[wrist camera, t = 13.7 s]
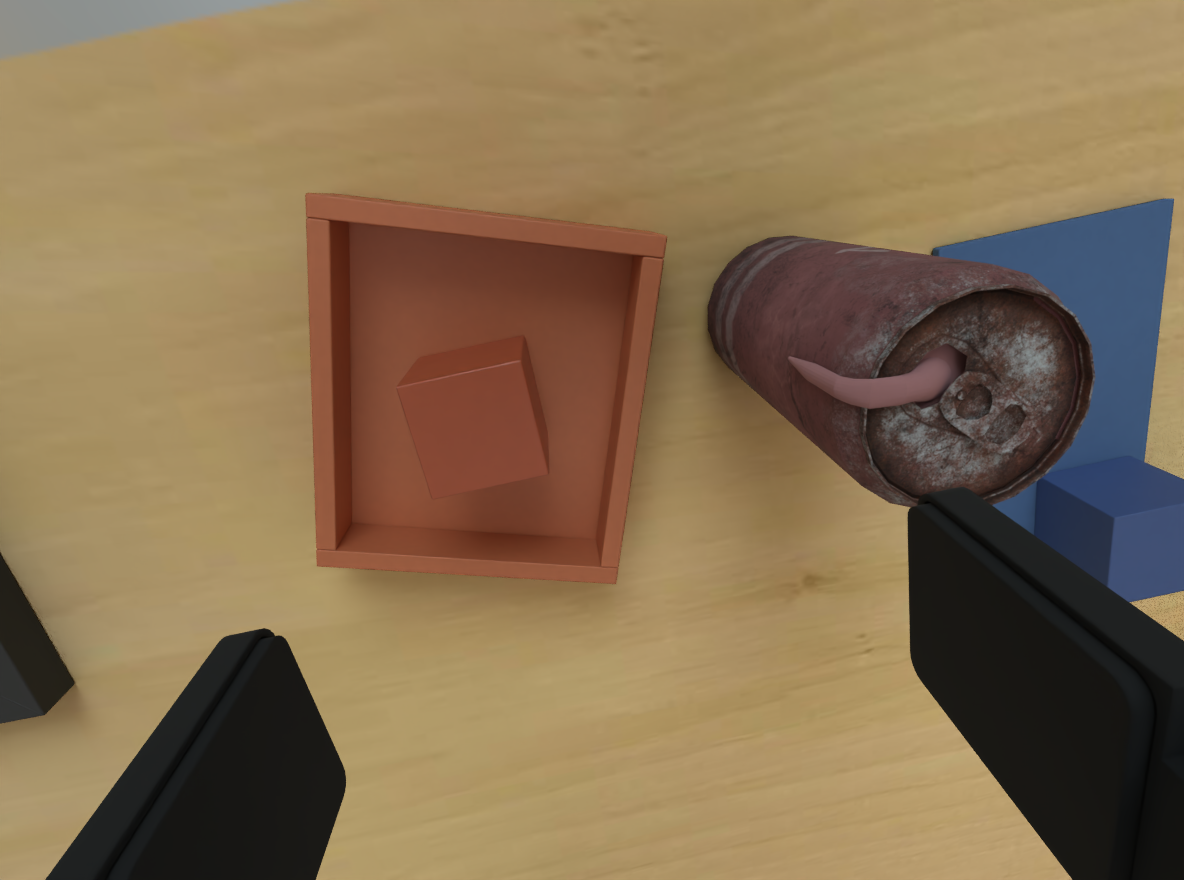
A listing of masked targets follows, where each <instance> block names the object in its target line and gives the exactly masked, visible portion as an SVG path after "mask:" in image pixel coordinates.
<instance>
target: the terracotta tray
mask: <svg viewBox="0 0 1184 880" xmlns="http://www.w3.org/2000/svg"><path fill="white" fill-rule="evenodd" d="M305 197H306V216H307V217H308V218H307V219H306V229H307V261H308V293H309V325H310V357H311V389H312V421H313V453H314V485H315V517H316V548H317V550H316V555H317V566H321V567H338V568H355V569H372V570H389V571H406V572H423V573H440V574H457V575H474V576H491V577H508V578H524V579H541V580H558V581H575V582H592V583H609V584H616V581H617V574H618V566H619V560H620V553H621V547H622V540H623V533H624V526H625V519H626V513H627V506H628V499H629V492H630V486H631V479H632V472H633V465H634V459H635V452H636V445H637V438H638V431H639V425H640V418H641V411H642V404H643V398H644V391H645V384H646V377H647V371H648V364H649V357H650V350H651V343H652V337H653V330H654V323H655V316H656V310H657V303H658V296H659V289H660V283H661V276H662V269H663V262H664V260H663V259H662V258H664V256H665V249H666V242H667V236H665V235H662V234H658V233H655V232H650V231H642V230H633V229H625V228H617V227H608V226H600V225H592V224H583V223H575V222H566V221H558V220H550V219H541V218H533V217H525V216H516V215H508V214H500V213H491V212H483V211H474V210H466V209H458V208H449V207H441V206H433V205H424V204H416V203H407V202H399V201H391V200H382V199H374V198H366V197H357V196H349V195H341V194H328V193H306V195H305ZM521 335H524V336H525V340H526V344H527V348H528V352H529V356H530V360H531V365H532V369H533V373H534V377H535V381H536V385H537V390H538V394H539V398H540V402H541V406H542V410H543V414H544V419H545V423H546V427H547V431H548V447H549V475H546V476H541V477H536V478H532V479H527V480H523V481H518V482H513V483H509V484H504V485H499V486H495V487H490V488H485V489H481V490H476V491H471V492H467V493H462V494H458V495H453V496H448V497H444V498H439V499H434V500H432V498H431V496H430V493H429V489H428V486H427V483H426V480H425V477H424V474H423V471H422V468H421V465H420V462H419V458H418V455H417V452H416V449H415V446H414V443H413V440H412V437H411V434H410V430H409V427H408V424H407V421H406V418H405V415H404V412H403V409H402V406H401V403H400V399H399V396H398V393H397V390H396V386H397V385H398V384H399V382H400V381H401V380H402V378H403V377H404V376H405V375H406V373H407V372H408V371H409V369H410V368H411V367H412V365H413V364H414V363H415V362H416V360H417V359H418V358H419V357H423V356H428V355H433V354H437V353H442V352H447V351H451V350H456V349H461V348H465V347H470V346H474V345H479V344H484V343H488V342H493V341H498V340H502V339H507V338H512V337H516V336H521Z"/></svg>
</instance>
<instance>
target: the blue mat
mask: <svg viewBox="0 0 1184 880" xmlns="http://www.w3.org/2000/svg"><path fill="white" fill-rule="evenodd" d="M1173 204H1174V199H1160V200H1156V201H1151V202H1147V203H1142V204H1137V205H1133V206H1128V207H1123V208H1119V209H1114V210H1109V211H1105V212H1100V213H1095V214H1091V215H1086V216H1082V217H1077V218H1072V219H1068V220H1063V221H1058V222H1054V223H1049V224H1044V225H1040V226H1035V227H1030V228H1026V229H1021V230H1016V231H1012V232H1007V233H1003V234H998V235H993V236H989V237H984V238H979V239H975V240H970V241H965V242H961V243H956V244H951V245H947V246H942V247H938V248H934V249H933V256H938V257H945V258H952V259H959V260H967V261H974V262H981V263H988V264H994V265H997V266H1001V267H1005V268H1009V269H1012V270H1016V271H1020V272H1023V273H1027V274H1030V275H1031V276H1033V277H1034V278H1035V279H1037V280H1038V281H1039V282H1040V283H1042V284H1043V285H1044V286H1046V287H1047V288H1048V289H1049V290H1051V291H1052V292H1053V293H1055V294H1056V295H1057V296H1058V297H1059V298H1060V300H1061V302H1062V303H1063V305H1064V306H1065V307H1067V308H1068V309H1069V310H1070V311H1072V312H1073V313H1074V314H1076V316H1077V318H1078V320H1079V322H1080V324H1081V325H1082V327H1083V329H1084V331H1085V333H1086V334H1087V336H1088V338H1089V340H1090V342H1091V345H1092V353H1093V361H1094V369H1095V382H1094V387H1093V392H1092V397H1091V402H1090V407H1089V412H1088V414H1087V416H1086V418H1085V420H1084V422H1083V424H1082V426H1081V428H1080V430H1079V432H1078V434H1077V436H1076V438H1075V439H1074V441H1073V443H1072V445H1071V447H1070V448H1069V449H1068V450H1067V451H1066V452H1065V454H1064V455H1063V456H1062V457H1061V458H1060V459H1059V460H1058V462H1057V463H1056V464H1055V465H1054V466H1053V467H1052V468H1051V469H1050V471H1049V472H1048V473H1050V472H1055V471H1060V470H1064V469H1069V468H1074V467H1078V466H1083V465H1088V464H1092V463H1097V462H1102V461H1106V460H1111V459H1116V458H1120V457H1125V456H1131V457H1134V458H1136V459H1138V460H1140V461H1143V462H1144V459H1145V451H1146V442H1147V433H1148V424H1149V415H1150V407H1151V398H1152V389H1153V380H1154V371H1155V363H1156V354H1157V345H1158V336H1159V327H1160V319H1161V310H1162V301H1163V292H1164V283H1165V275H1166V266H1167V257H1168V248H1169V239H1170V231H1171V222H1172V213H1173ZM1036 496H1037V481H1036V482H1035V483H1033V484H1032V485H1030V486H1029V487H1028V488H1026V489H1025V490H1023V491H1022V492H1021V493H1019V494H1018V495H1016V496H1015V497H1012V498H1010V499H1007V500H1004V501H1002V502H999V503H997V504H994V505H992V506H994V507H995V508H996V509H998V510H999V511H1001V512H1002V513H1003V514H1005V515H1006V516H1008V517H1009V518H1011V519H1012V520H1013V521H1015V522H1016V523H1018V524H1019V525H1020V526H1022V527H1023V528H1025V529H1026V530H1027V531H1029V532H1030V533H1032V534H1033V535H1035V516H1036Z"/></svg>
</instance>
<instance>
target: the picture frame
mask: <svg viewBox="0 0 1184 880" xmlns="http://www.w3.org/2000/svg"><path fill="white" fill-rule="evenodd" d="M73 685H74V682H73V680H72V678H71V677H70V675H69V673H68V671H67V670H66V668H65V666H64V664H63V663H62V661H61V659H60V657H59V656H58V654H57V652H56V651H55V649H54V647H53V645H52V644H51V642H50V640H49V638H48V637H47V635H46V633H45V631H44V630H43V628H42V626H41V624H40V623H39V621H38V619H37V618H36V616H35V614H34V612H33V611H32V609H31V607H30V605H29V604H28V602H27V600H26V598H25V597H24V595H23V593H22V591H21V590H20V588H19V586H18V585H17V583H16V581H15V579H14V578H13V576H12V574H11V572H10V571H9V569H8V567H7V565H6V564H5V562H4V560H3V558H2V557H1V555H0V724H1V723H6V722H11V721H16V720H21V719H26V718H31V717H37V716H42V715H45V714H46V713H47V712H48V711H49V710H50V709H51V708H52V707H53V706H54V705H55V704H56V703H57V702H58V701H59V700H60V698H61V697H62V696H63V695H64V694H65V693H66V692H67V691H68V690H69V689H70V688H71V687H72V686H73Z"/></svg>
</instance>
